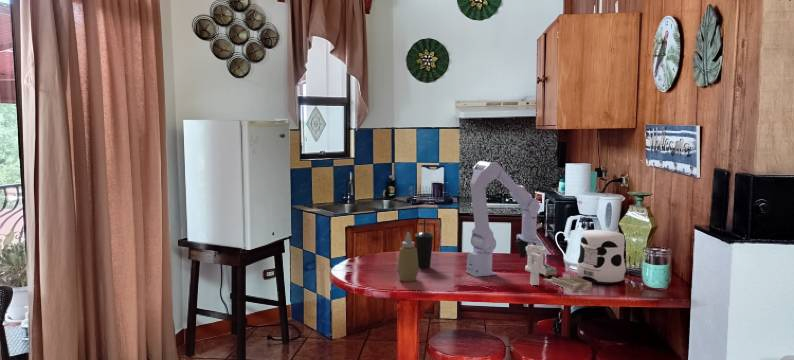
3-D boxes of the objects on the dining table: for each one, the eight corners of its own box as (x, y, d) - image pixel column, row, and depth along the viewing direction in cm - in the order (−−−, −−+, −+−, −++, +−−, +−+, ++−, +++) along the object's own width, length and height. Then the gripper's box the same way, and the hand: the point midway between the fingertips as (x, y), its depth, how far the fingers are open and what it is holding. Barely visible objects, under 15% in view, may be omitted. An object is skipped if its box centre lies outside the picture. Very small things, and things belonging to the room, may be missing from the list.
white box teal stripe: (545, 278, 213) (545, 269, 213) (534, 273, 220) (534, 265, 219) (556, 277, 215) (556, 268, 215) (545, 272, 222) (545, 264, 221)
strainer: (520, 283, 207) (521, 243, 205) (534, 280, 210) (536, 241, 208) (533, 288, 201) (535, 247, 199) (548, 285, 204) (550, 245, 202)
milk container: (620, 275, 218) (622, 230, 216) (629, 288, 201) (631, 239, 199) (574, 273, 221) (575, 228, 220) (578, 285, 205) (581, 237, 203)
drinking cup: (411, 268, 226) (412, 219, 224) (418, 264, 233) (418, 216, 231) (429, 270, 223) (430, 221, 221) (435, 266, 230) (436, 218, 228)
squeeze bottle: (403, 283, 205) (404, 235, 203) (393, 278, 212) (393, 231, 210) (422, 281, 208) (423, 233, 206) (412, 275, 215) (412, 229, 214)
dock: (571, 294, 197) (571, 285, 196) (541, 281, 212) (541, 272, 212) (591, 291, 200) (592, 282, 200) (560, 278, 216) (561, 270, 215)
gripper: (548, 229, 221) (547, 263, 223) (526, 223, 235) (526, 254, 236) (533, 230, 219) (532, 264, 220) (512, 224, 232) (511, 256, 233)
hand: (528, 259), depth 228 cm, fingers open, 7 cm apart
